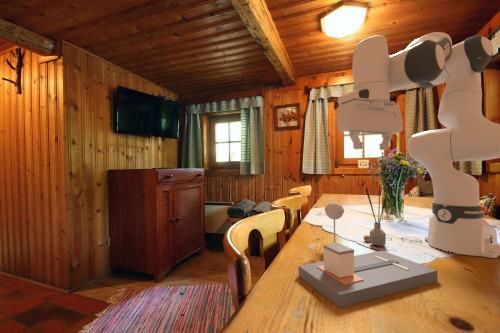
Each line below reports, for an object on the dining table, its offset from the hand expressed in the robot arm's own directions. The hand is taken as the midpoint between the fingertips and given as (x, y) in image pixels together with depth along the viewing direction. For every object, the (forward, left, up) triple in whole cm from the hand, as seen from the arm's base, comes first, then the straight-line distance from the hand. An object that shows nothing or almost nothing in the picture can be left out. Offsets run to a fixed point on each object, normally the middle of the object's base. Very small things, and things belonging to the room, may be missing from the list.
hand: (371, 149), depth 63 cm
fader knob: (+16, +5, -28) cm, 33 cm away
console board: (+8, +5, -31) cm, 32 cm away
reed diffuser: (-14, -12, -31) cm, 36 cm away
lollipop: (-1, -16, -31) cm, 35 cm away
